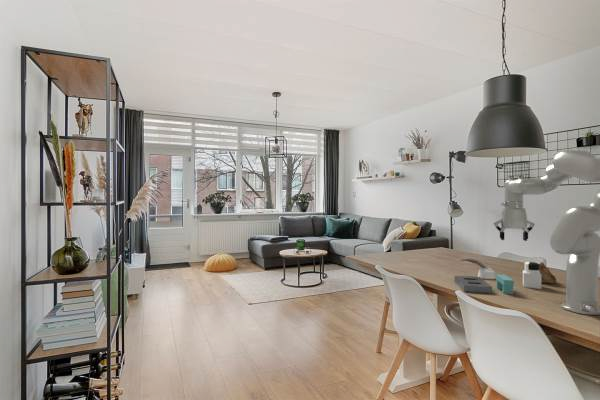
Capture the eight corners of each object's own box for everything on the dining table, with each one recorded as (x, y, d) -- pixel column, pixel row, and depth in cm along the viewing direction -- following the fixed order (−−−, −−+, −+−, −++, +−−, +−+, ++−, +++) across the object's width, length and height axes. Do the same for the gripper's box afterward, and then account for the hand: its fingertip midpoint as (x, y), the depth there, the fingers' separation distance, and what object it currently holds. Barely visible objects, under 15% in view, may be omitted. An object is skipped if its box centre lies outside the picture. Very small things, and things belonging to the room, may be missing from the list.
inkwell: (498, 280, 178) (498, 261, 178) (461, 277, 184) (461, 259, 184) (493, 276, 187) (493, 258, 187) (458, 273, 193) (458, 256, 192)
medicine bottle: (539, 286, 166) (539, 262, 166) (541, 289, 160) (541, 264, 160) (522, 284, 170) (522, 260, 170) (523, 287, 164) (523, 263, 164)
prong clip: (505, 288, 162) (505, 275, 162) (513, 294, 151) (513, 280, 151) (495, 287, 163) (495, 274, 163) (504, 294, 152) (504, 280, 152)
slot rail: (479, 282, 172) (479, 276, 172) (492, 293, 153) (492, 287, 153) (454, 281, 175) (454, 275, 175) (463, 291, 156) (463, 285, 156)
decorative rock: (532, 283, 172) (533, 262, 172) (526, 280, 178) (526, 260, 178) (558, 284, 170) (558, 263, 170) (551, 281, 176) (551, 260, 176)
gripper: (496, 205, 161) (496, 240, 161) (537, 205, 157) (537, 241, 157) (491, 204, 169) (491, 238, 169) (531, 205, 164) (531, 239, 164)
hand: (513, 240), depth 163 cm, fingers open, 9 cm apart
